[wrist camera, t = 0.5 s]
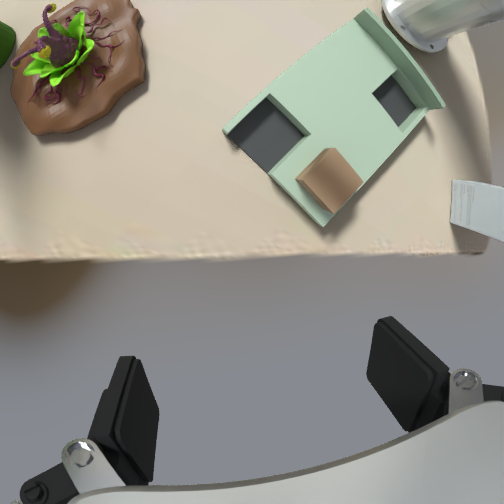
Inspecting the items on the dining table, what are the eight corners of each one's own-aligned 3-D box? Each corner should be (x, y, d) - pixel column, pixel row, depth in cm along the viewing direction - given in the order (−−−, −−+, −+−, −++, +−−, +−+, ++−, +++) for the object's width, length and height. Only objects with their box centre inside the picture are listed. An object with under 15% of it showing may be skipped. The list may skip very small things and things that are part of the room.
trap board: (349, 22, 28) (367, 7, 23) (421, 108, 33) (445, 105, 28) (222, 130, 31) (223, 124, 26) (316, 222, 36) (333, 233, 31)
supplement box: (473, 221, 40) (526, 241, 28) (448, 222, 39) (505, 244, 27) (476, 180, 38) (531, 192, 26) (451, 177, 37) (511, 189, 25)
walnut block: (324, 148, 31) (335, 147, 28) (351, 179, 32) (363, 182, 29) (294, 178, 31) (302, 180, 29) (323, 209, 33) (333, 214, 30)
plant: (39, 162, 29) (-14, 167, 18) (10, 57, 22) (-33, 39, 12) (170, 82, 29) (153, 48, 18) (126, -19, 22) (105, -62, 12)
